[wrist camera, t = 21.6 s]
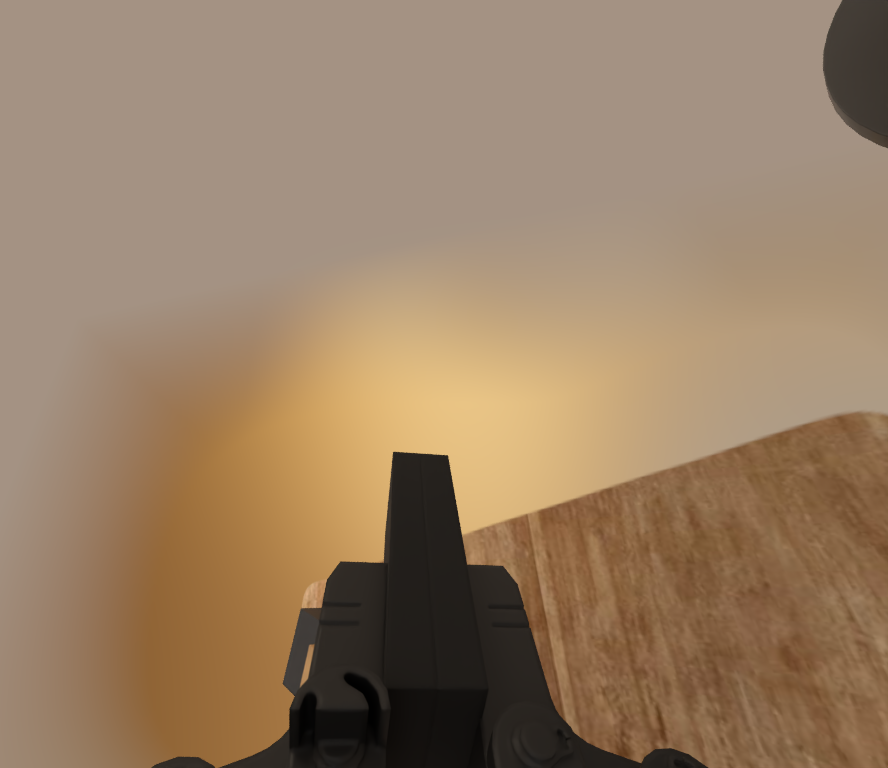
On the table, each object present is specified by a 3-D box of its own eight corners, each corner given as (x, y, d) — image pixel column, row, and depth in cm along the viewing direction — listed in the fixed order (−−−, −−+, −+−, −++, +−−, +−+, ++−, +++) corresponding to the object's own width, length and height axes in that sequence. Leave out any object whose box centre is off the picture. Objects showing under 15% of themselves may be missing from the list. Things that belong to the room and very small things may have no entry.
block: (357, 607, 52) (300, 608, 48) (396, 628, 47) (336, 632, 42) (342, 676, 51) (282, 684, 46) (380, 706, 45) (317, 718, 41)
